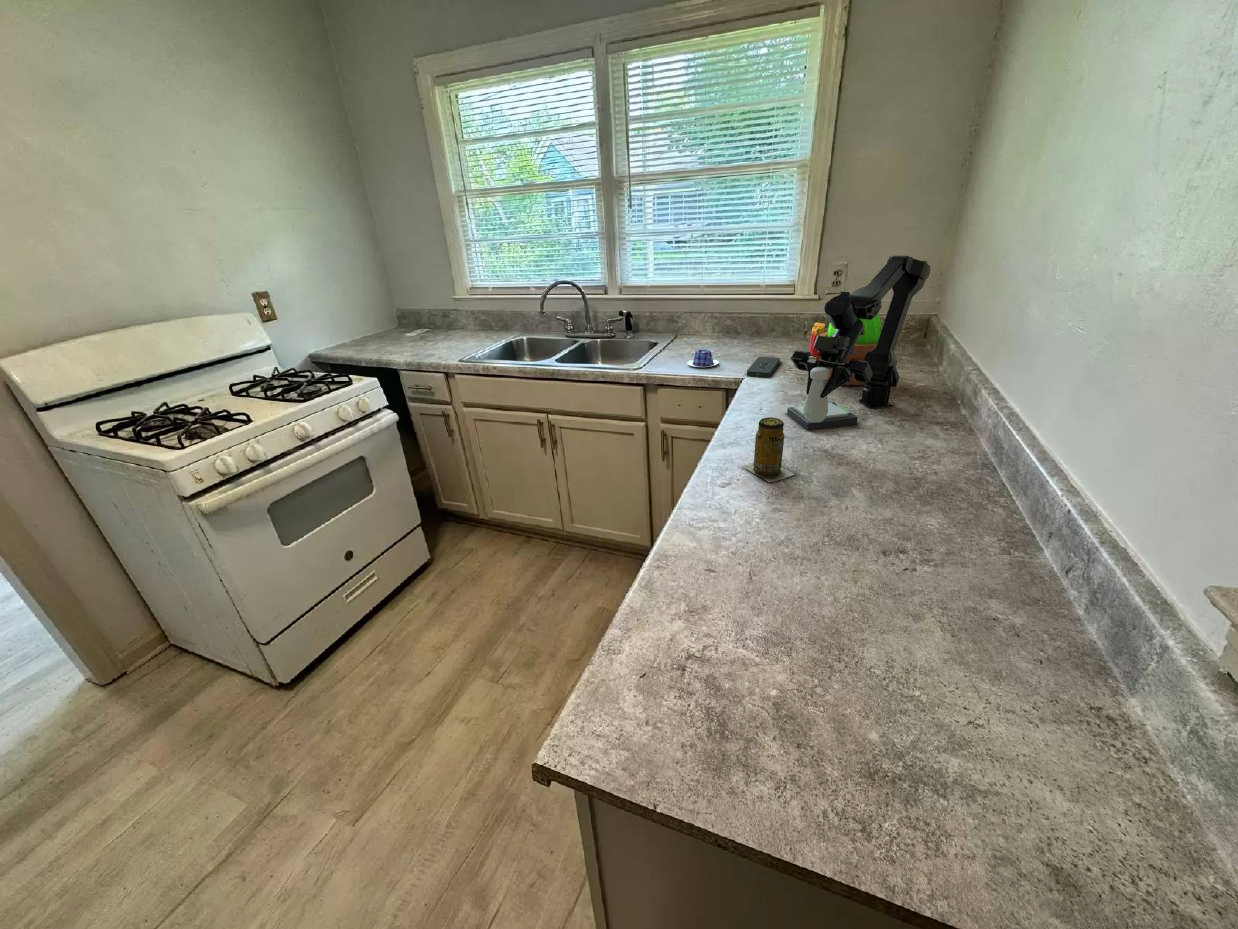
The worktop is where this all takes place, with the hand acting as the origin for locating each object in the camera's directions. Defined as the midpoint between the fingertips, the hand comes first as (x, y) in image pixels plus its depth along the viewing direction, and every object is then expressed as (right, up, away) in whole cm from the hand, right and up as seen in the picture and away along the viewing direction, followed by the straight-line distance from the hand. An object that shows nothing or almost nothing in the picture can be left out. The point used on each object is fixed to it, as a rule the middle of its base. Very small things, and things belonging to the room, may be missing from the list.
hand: (814, 395), depth 119 cm
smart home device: (+6, +19, +62) cm, 65 cm away
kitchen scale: (+9, -4, +17) cm, 20 cm away
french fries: (+28, +24, +70) cm, 79 cm away
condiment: (-13, -18, -7) cm, 24 cm away
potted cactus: (+30, +12, +47) cm, 57 cm away
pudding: (-15, +22, +72) cm, 76 cm away
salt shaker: (+2, -6, +4) cm, 7 cm away
